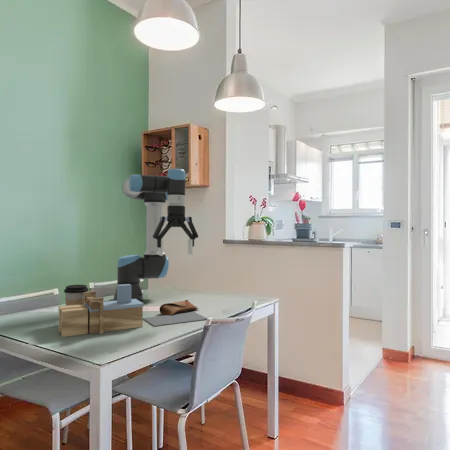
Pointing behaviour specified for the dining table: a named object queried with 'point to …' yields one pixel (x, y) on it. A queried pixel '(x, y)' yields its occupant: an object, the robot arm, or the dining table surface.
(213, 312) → the dining table surface
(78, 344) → the dining table surface
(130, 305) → the lid
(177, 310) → the sunglasses case
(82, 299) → the coffee cup
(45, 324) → the dining table surface
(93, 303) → the key
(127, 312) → the toolbox
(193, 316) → the mat
